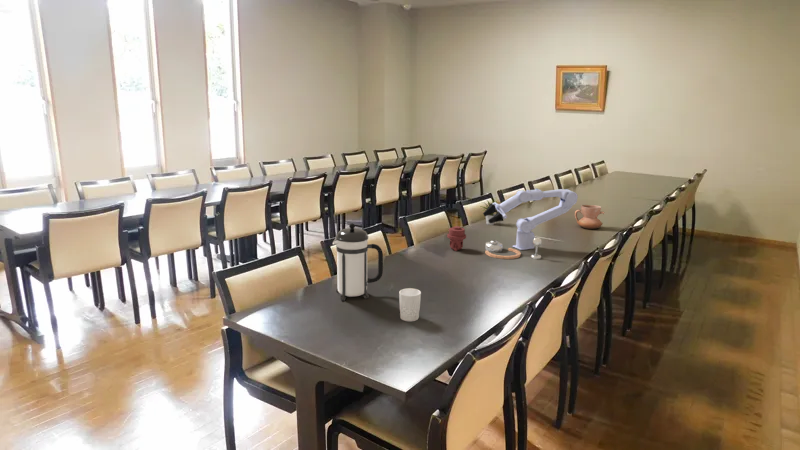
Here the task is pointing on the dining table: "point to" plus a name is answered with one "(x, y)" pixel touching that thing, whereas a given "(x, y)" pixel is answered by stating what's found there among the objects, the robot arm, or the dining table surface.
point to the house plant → (489, 214)
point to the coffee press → (354, 262)
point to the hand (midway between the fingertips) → (486, 218)
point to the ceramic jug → (589, 216)
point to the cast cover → (493, 246)
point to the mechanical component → (456, 237)
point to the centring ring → (505, 256)
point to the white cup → (409, 304)
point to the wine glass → (537, 243)
